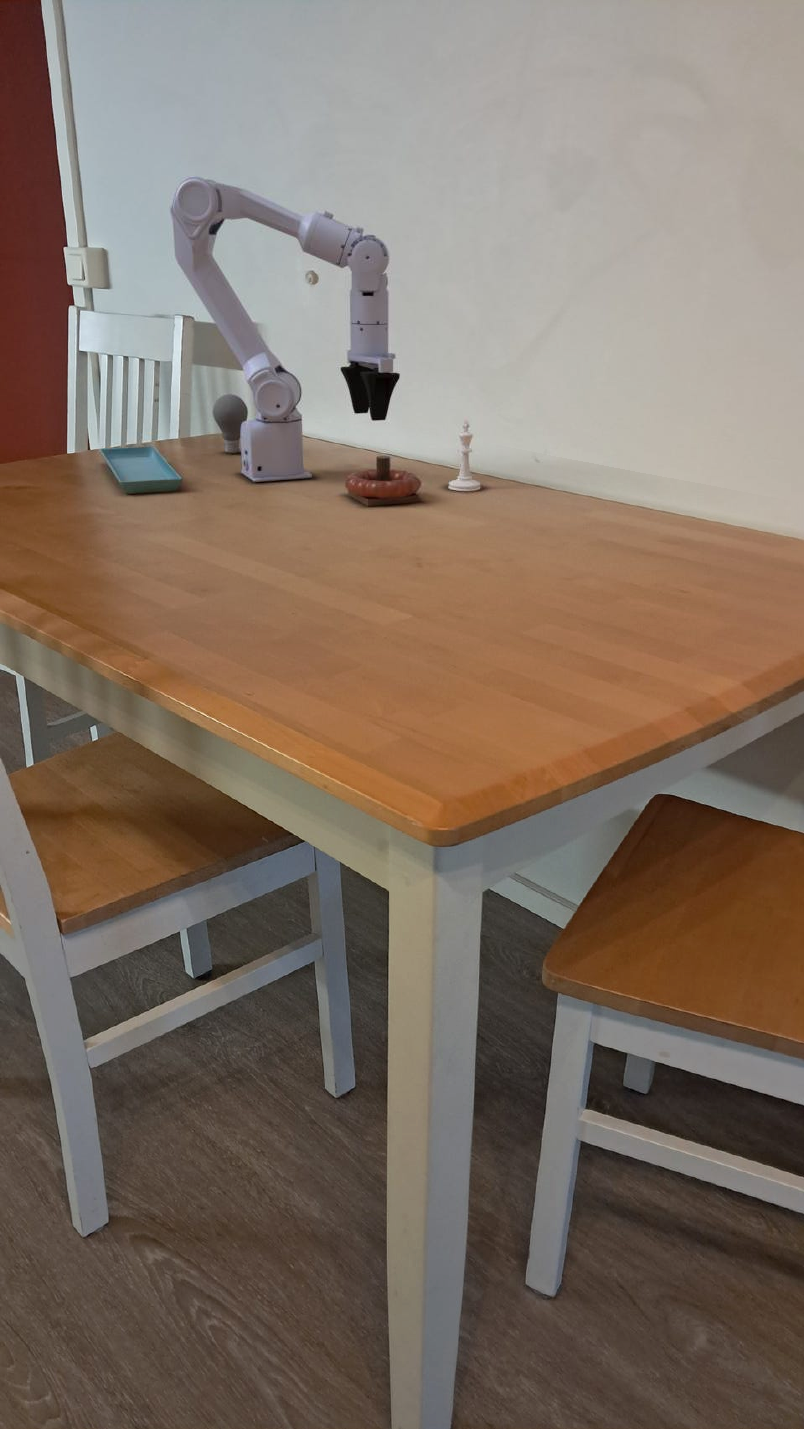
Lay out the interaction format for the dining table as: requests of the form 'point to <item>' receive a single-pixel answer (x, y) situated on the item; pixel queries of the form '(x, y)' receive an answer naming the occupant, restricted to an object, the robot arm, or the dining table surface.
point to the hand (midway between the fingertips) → (369, 416)
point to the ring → (383, 484)
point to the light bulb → (230, 420)
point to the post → (384, 475)
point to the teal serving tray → (141, 469)
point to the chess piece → (465, 465)
